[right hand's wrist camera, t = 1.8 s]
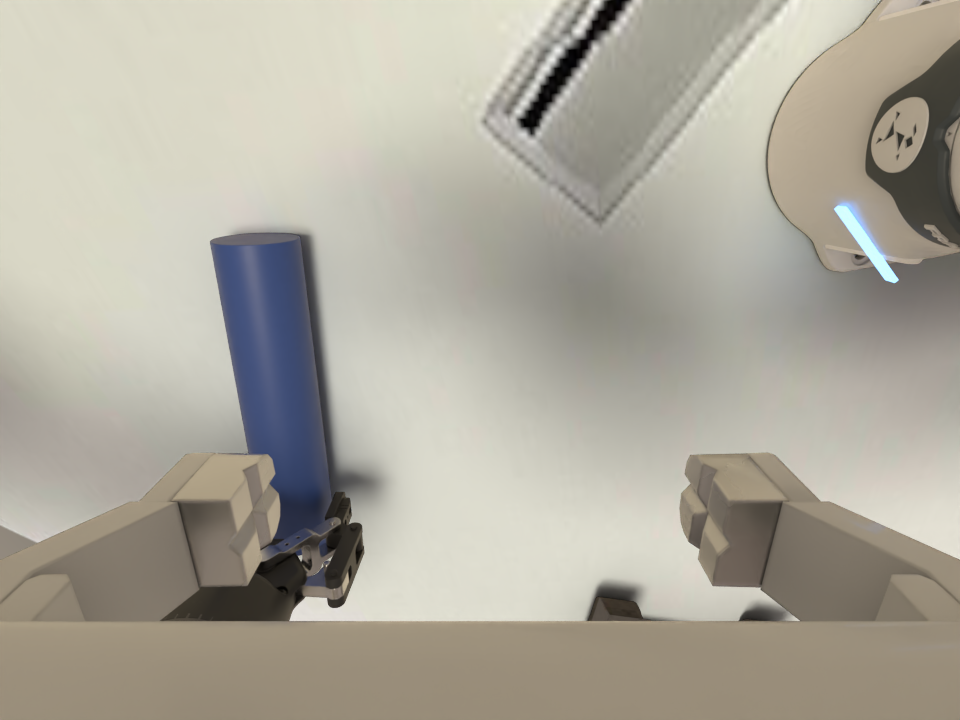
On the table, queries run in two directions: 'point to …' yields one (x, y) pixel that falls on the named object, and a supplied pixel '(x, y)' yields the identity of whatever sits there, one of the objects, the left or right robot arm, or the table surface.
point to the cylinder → (276, 368)
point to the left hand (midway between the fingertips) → (292, 500)
